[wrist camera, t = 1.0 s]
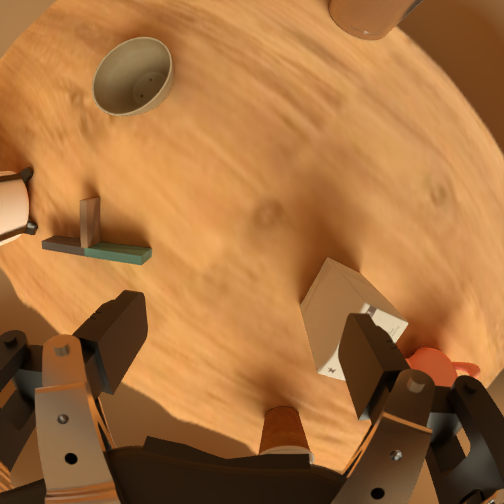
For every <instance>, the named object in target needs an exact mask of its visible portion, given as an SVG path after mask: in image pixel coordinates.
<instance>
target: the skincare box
mask: <svg viewBox="0 0 504 504" xmlns="http://www.w3.org/2000/svg"><path fill="white" fill-rule="evenodd" d="M300 310H301V313H302V317H303V320H304V324H305V328H306V331H307V335H308V339H309V342H310V346H311V350H312V354H313V358H314V362H315V366H316V370H317V373H319V374H322V375H326V376H329V377H332V378H336V379H340V380H343V381H346V380H345V377H344V374H343V371H342V368H341V365H340V363H339V359H338V348H339V343H340V340H341V337H342V333H343V330H344V327H345V323H346V319H347V317H348V315H349V314H350V313H367V314H369V315H370V317H371V318H372V320H373V321H374V323H375V324H376V326H380V327H381V328H383V329H384V330H385V331H386V332H388V333H389V335H390V336H391V338H392V340H393V342H394V343H396V342H397V340H398V339H399V337H400V336H401V334H402V333H403V331H404V330H405V328H406V327H407V325H408V324H409V323H408V321H407V320H406V319H405V318H404V317H403V316H402V315H401V314H400V313H399V312H398V311H397V309H396V308H395V307H394V306H393V305H392V304H391V303H390V302H389V301H388V300H387V299H386V298H385V297H384V296H383V295H382V294H381V293H380V292H379V291H378V290H377V289H376V288H375V287H374V286H373V285H372V284H371V283H370V282H369V281H368V280H367V279H366V278H365V277H364V276H363V275H362V274H361V273H359V272H357V271H355V270H353V269H351V268H349V267H347V266H345V265H343V264H341V263H339V262H337V261H335V260H333V259H331V258H329V257H327V258H326V260H325V262H324V264H323V266H322V267H321V269H320V271H319V273H318V275H317V276H316V278H315V280H314V282H313V283H312V285H311V287H310V289H309V291H308V292H307V294H306V296H305V298H304V300H303V302H302V303H301V305H300Z"/></svg>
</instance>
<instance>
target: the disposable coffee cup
mask: <svg viewBox="0 0 504 504" xmlns="http://www.w3.org/2000/svg"><path fill="white" fill-rule="evenodd" d="M308 453H309V459H310V464H313V462H314V455H313V454H312V453H311V451H310V449H309V446H308V443H307V439H306V436H305V433H304V430H303V427H302V423H301V420H300V417H299V413H298V412H297V411H296V410H295V409H293V408H290V407H277V408H274V409H271V410H270V411H268V412H267V413H266V415H265V420H264V426H263V431H262V438H261V443H260V449H259V454H258V455H264V454H308Z"/></svg>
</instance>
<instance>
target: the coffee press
mask: <svg viewBox="0 0 504 504" xmlns="http://www.w3.org/2000/svg"><path fill="white" fill-rule="evenodd" d="M32 176H33V171H32V170H31V168H30V167H27V168H26V169H24V170H23V171H21V172H20V173H15V172H13V171H1V172H0V246H1V245H3V244H5V243H8V242H10V241H13V240H15V239H17V238H18V237H19V236H20V235H21V234H22V233H26V234H30V235H35V234H36V231H37V229H38V226H37V225H36V224H35V223H33V222H30V221H29V220H28V215H29V199H28V193H27V189H26V186H25V183H26V182H27V181H28V180H29V179H30V178H31V177H32Z"/></svg>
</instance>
